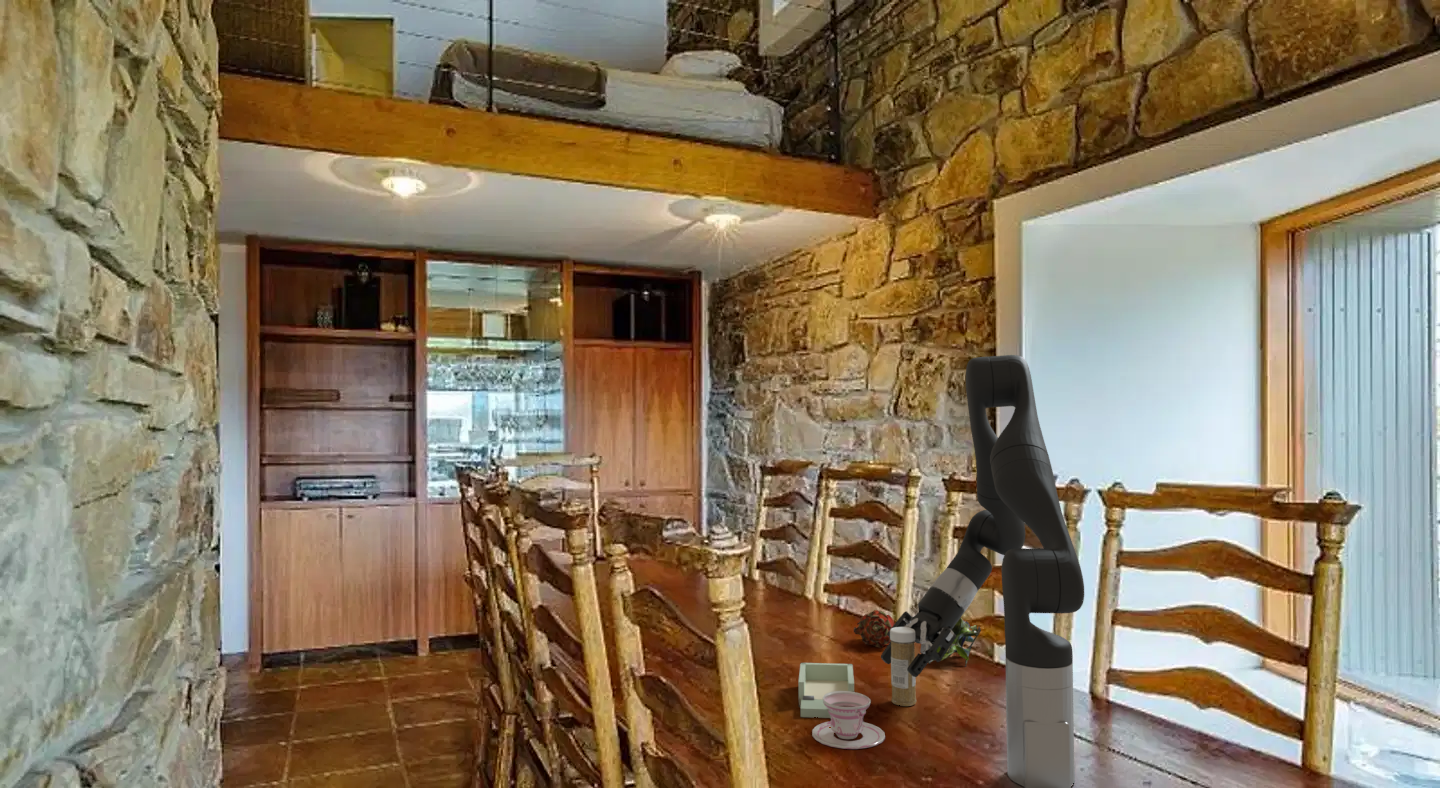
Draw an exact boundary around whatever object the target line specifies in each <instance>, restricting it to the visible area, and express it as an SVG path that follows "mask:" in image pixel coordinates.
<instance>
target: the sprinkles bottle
mask: <svg viewBox="0 0 1440 788" xmlns="http://www.w3.org/2000/svg"><path fill="white" fill-rule="evenodd" d="M890 640H891V663H890V675H891V676H890V677H891V678H890V679H891V680H890V681H891V683H890V685H891V702H892V704H894V705H896V706H899V705H900V706H899V707H910V706H911V707H912V706H914V705H916V704H917V697H916V695H917V694H916V684H917V683H916V678H917V677H914V676H912V675H911V674H910V673H909V672H908V671H907V668H908V667H909V665H910V664H911V663H912V661H913V660H914V658H915V657H916V656H915V644H916V643H915V630H914V629H912V628H908V627H895V628H892V629H890Z"/></svg>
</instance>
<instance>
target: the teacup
mask: <svg viewBox="0 0 1440 788" xmlns="http://www.w3.org/2000/svg"><path fill="white" fill-rule="evenodd" d="M871 702H872V700H871V698H869V696H867V695H865V694H862V693H860V692H857V691H856V692H855V691H854V692H851V691H834V692H829V693H827V694H825V695H824V696H823V703H824V705H825V706H826V707H827V708H828V712H829V714H830V716H831V718H830V721H825V722H822V723H820V724H817V725H816V726H814V728H812V730H811V732H812V733H811V734H812V735H811V736H812V737H813V739H814V740H816V741H817V742H819V743H820V744H822V745H825V746H828V747H831V748H836V749H845V750H846V749H847V750H859V749H867V748H872V747H876V746H878V745H879V744H882V743H883V742H884V741H885V740H886V735H885V731H884V730H882V728H880V727H879V726H876V725H875V724H872V723H868V722H865V721H864V716H865V715H866V714H867V711H866V710H867V709H869V707H870V705H871ZM829 727H831V728H829ZM834 733H835V734H834ZM860 734H861V735H862V737H861V738H860V739H856V738H857V737H858V735H860ZM835 735H836V736H837V737H838V738H837V737H836V736H835ZM853 739H854V740H853ZM855 739H856V740H855Z"/></svg>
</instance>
